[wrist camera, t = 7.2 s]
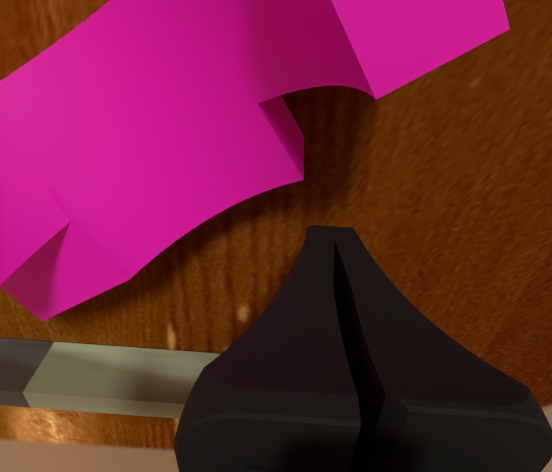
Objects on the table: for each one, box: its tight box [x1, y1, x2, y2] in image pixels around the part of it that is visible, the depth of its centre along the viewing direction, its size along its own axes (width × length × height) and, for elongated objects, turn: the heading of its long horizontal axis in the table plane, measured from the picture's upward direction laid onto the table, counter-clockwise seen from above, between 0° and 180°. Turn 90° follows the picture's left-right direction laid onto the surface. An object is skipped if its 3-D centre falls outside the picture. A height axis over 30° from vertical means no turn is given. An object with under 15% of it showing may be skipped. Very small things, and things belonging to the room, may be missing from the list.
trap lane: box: [0, 338, 220, 419], centre depth 15 cm, size 22×24×3 cm
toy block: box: [0, 0, 510, 321], centre depth 11 cm, size 15×6×8 cm, turn 121°
